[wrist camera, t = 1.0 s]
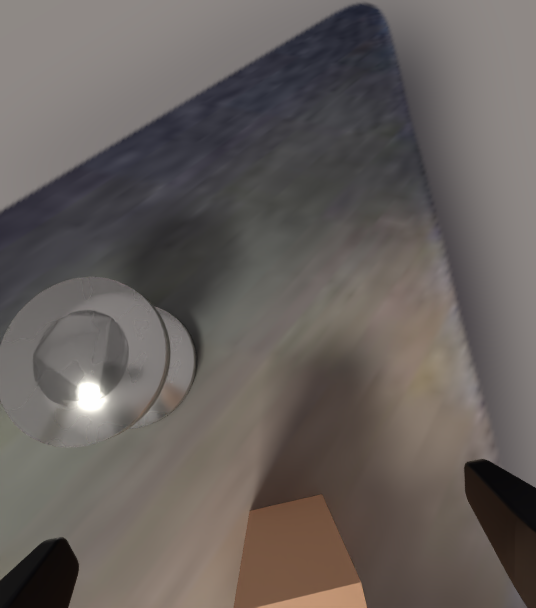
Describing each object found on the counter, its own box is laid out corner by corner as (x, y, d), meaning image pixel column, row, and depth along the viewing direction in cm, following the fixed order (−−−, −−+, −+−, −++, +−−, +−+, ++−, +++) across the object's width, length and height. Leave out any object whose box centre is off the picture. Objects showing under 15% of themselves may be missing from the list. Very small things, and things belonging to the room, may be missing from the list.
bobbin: (205, 412, 19) (176, 426, 13) (83, 438, 19) (-3, 465, 13) (187, 296, 20) (153, 262, 15) (74, 319, 20) (-6, 294, 14)
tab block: (340, 578, 17) (400, 746, 9) (264, 596, 17) (259, 782, 9) (321, 494, 18) (361, 582, 10) (249, 510, 18) (232, 613, 10)
